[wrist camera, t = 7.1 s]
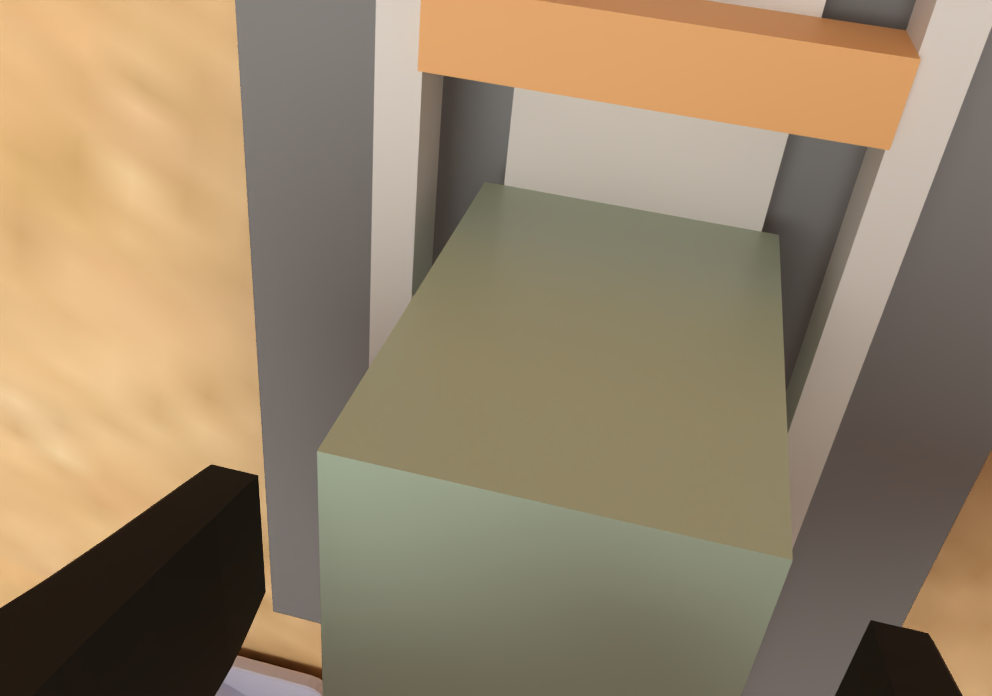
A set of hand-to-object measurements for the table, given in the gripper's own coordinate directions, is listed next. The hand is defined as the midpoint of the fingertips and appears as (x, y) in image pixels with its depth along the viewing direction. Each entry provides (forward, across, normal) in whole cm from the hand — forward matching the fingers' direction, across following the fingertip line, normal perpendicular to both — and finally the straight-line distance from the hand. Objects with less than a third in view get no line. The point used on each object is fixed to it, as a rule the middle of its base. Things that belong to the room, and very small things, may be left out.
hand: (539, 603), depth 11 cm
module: (+4, 0, 0) cm, 4 cm away
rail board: (+6, 0, 0) cm, 6 cm away
